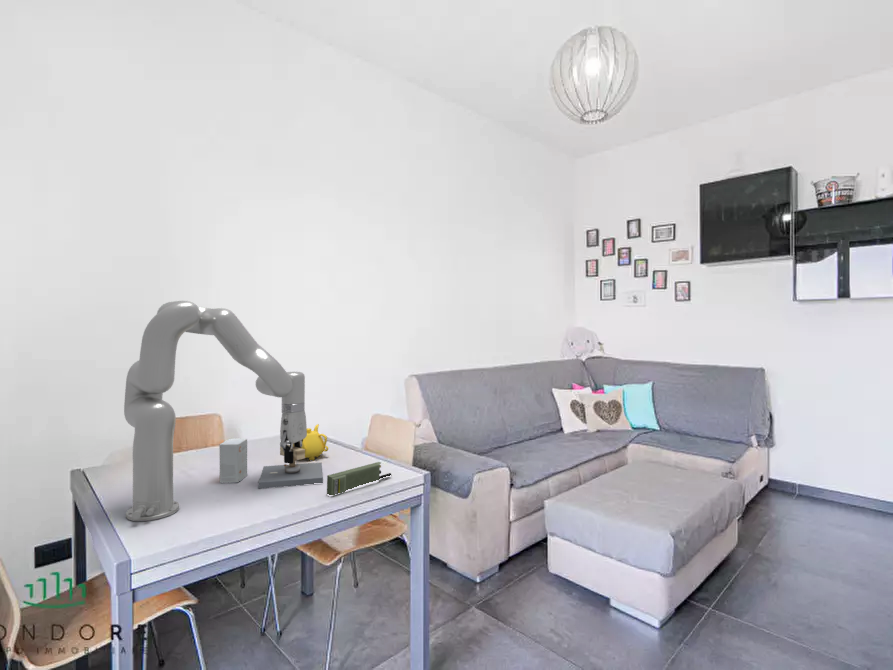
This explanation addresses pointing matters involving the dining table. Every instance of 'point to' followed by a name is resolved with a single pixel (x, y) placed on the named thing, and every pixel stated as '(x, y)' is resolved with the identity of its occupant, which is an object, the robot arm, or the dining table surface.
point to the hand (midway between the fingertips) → (292, 460)
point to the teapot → (314, 443)
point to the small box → (233, 460)
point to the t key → (297, 455)
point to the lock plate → (290, 475)
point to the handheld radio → (353, 478)
